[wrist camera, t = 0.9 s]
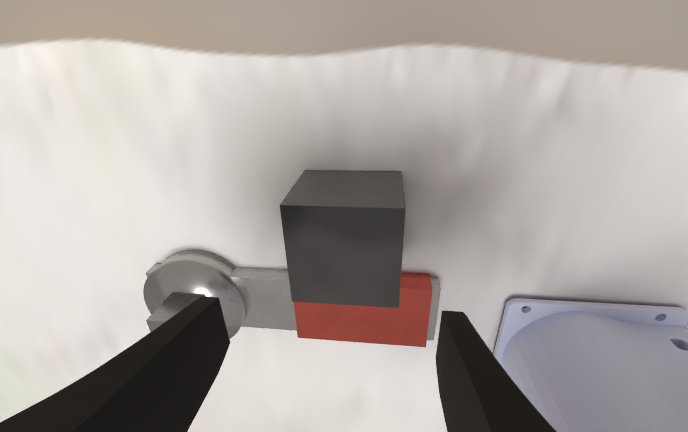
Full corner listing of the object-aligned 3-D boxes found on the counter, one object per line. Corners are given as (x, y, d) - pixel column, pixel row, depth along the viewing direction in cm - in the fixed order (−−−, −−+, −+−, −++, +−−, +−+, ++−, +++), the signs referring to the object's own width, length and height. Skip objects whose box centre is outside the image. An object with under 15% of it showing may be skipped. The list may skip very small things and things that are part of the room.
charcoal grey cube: (400, 171, 17) (405, 208, 13) (396, 254, 19) (398, 308, 15) (304, 170, 17) (279, 205, 13) (311, 250, 19) (291, 301, 15)
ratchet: (439, 258, 19) (452, 309, 15) (429, 339, 22) (438, 398, 18) (149, 246, 21) (97, 288, 17) (175, 321, 24) (135, 370, 20)
